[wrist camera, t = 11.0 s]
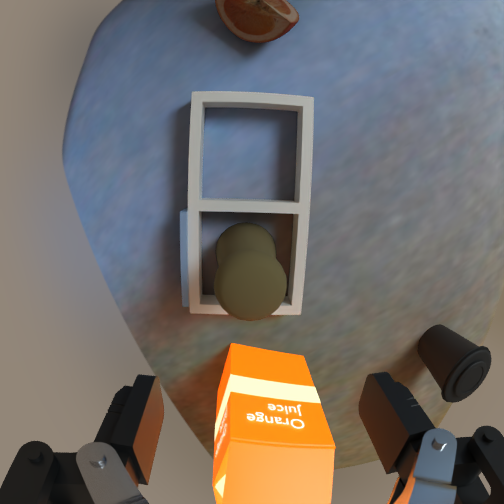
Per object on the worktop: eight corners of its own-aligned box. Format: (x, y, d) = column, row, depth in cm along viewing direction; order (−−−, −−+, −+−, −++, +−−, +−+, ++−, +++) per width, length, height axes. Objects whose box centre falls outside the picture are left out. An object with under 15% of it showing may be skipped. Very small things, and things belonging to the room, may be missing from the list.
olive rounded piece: (284, 234, 30) (311, 267, 20) (263, 288, 32) (276, 343, 21) (227, 213, 30) (223, 236, 19) (207, 269, 31) (194, 318, 20)
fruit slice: (204, 17, 24) (199, -6, 19) (248, -15, 23) (250, -40, 18) (263, 61, 26) (268, 42, 21) (306, 26, 25) (317, 5, 20)
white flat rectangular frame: (189, 98, 27) (184, 89, 23) (307, 103, 27) (315, 95, 24) (187, 302, 32) (182, 316, 29) (296, 304, 32) (302, 317, 29)
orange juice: (230, 341, 33) (229, 498, 14) (304, 355, 34) (354, 497, 15) (216, 391, 35) (209, 534, 16) (284, 402, 36) (312, 536, 17)
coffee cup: (440, 365, 37) (475, 404, 27) (400, 365, 36) (434, 410, 26) (462, 317, 35) (505, 350, 25) (423, 313, 34) (467, 351, 24)
